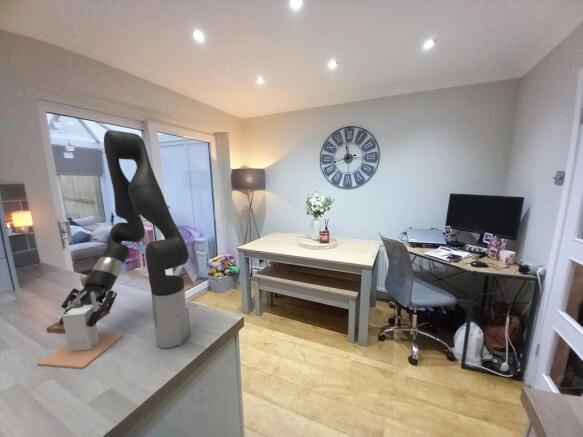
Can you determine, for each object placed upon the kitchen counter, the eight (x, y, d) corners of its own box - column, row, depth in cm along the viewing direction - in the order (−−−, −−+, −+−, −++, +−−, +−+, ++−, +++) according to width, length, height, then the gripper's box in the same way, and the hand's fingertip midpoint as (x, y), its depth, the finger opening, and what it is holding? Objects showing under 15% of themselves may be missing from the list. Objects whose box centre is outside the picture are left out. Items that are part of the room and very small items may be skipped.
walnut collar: (109, 312, 92) (109, 309, 92) (76, 334, 79) (76, 329, 79) (83, 311, 93) (83, 308, 93) (47, 332, 80) (46, 328, 80)
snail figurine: (76, 303, 99) (73, 276, 97) (85, 296, 105) (82, 270, 103) (92, 301, 101) (88, 275, 99) (99, 294, 107) (96, 269, 105)
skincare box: (100, 341, 75) (95, 305, 73) (90, 350, 70) (85, 313, 69) (78, 343, 74) (72, 307, 72) (67, 353, 69) (61, 315, 68)
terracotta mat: (123, 336, 78) (123, 334, 78) (83, 368, 64) (83, 366, 64) (85, 333, 79) (84, 331, 79) (37, 365, 66) (37, 363, 66)
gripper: (76, 268, 76) (42, 321, 67) (117, 269, 75) (88, 323, 66) (93, 277, 82) (64, 326, 73) (131, 278, 81) (107, 329, 72)
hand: (76, 325), depth 69 cm, fingers open, 8 cm apart
